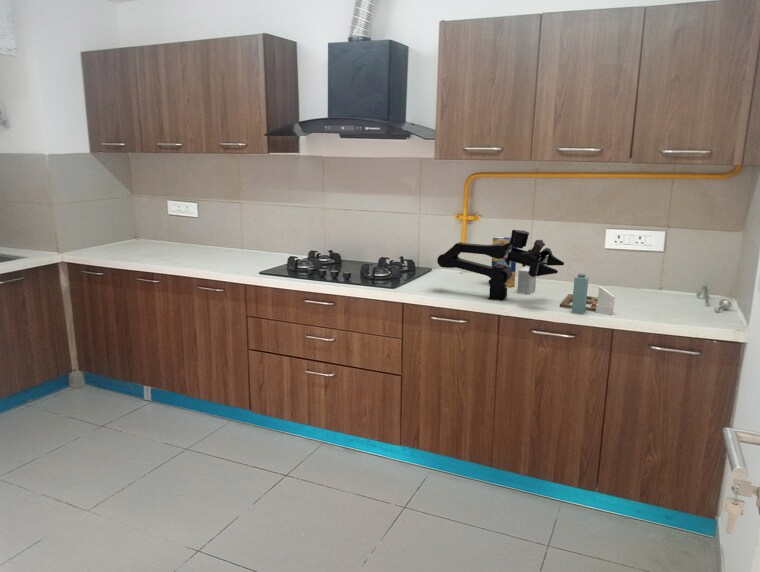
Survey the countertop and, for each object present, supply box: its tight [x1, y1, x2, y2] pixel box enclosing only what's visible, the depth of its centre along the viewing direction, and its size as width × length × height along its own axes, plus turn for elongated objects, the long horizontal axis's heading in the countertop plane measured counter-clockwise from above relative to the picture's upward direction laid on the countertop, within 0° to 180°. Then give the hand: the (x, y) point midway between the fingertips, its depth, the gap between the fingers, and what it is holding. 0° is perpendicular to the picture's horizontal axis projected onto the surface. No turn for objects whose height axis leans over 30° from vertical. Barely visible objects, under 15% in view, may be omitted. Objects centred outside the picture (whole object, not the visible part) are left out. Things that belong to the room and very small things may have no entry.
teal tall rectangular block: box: [570, 273, 590, 315], centre depth 224 cm, size 4×4×15 cm
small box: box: [517, 266, 537, 295], centre depth 255 cm, size 8×6×10 cm
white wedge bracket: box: [594, 285, 616, 316], centre depth 224 cm, size 4×10×9 cm, turn 56°
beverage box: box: [491, 236, 517, 288], centre depth 266 cm, size 7×11×22 cm, turn 76°
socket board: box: [559, 293, 598, 312], centre depth 237 cm, size 14×19×2 cm
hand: (560, 267), depth 229 cm, fingers open, 9 cm apart
